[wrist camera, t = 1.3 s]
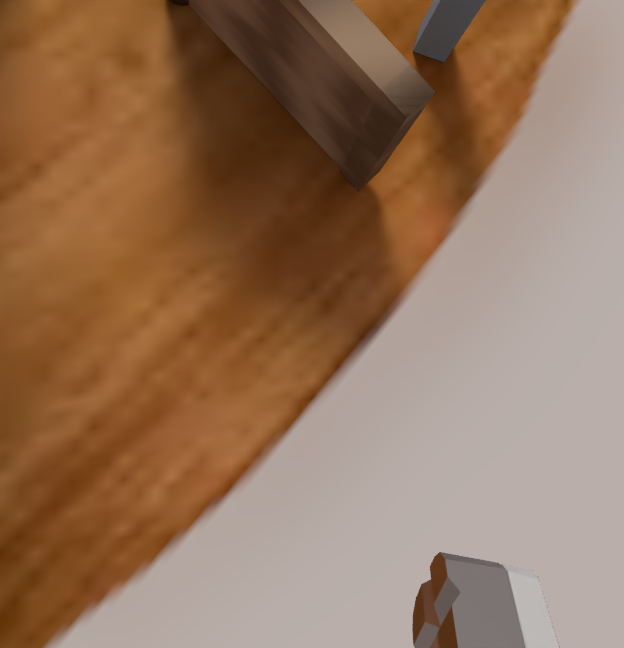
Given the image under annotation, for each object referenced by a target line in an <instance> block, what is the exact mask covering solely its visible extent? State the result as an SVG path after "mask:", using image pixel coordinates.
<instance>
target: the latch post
mask: <svg viewBox="0 0 624 648" xmlns="http://www.w3.org/2000/svg"><path fill="white" fill-rule="evenodd" d="M484 2H485V0H433V2H432V4H431V6H430V8H429V10H428V12H427V14H426V16H425V17H424V19H423V21H422V23H421V25H420V28H419V31H418V35H417V38H416V42H415V45H414V49H413V52H416V53H419V54H422V55H425V56H427V57H430V58H433V59H436V60H439V61H441V62H445V60H446V59H447V57H448V56H449V54H450V53H451V51H452V50H453V48H454V47H455V45H456V44H457V42H458V41H459V39H460V38H461V36H462V35H463V33H464V32H465V30H466V29H467V27H468V26H469V24H470V23H471V21H472V20H473V18H474V17H475V15H476V14H477V12H478V11H479V9H480V8H481V6H482V5H483V3H484Z"/></svg>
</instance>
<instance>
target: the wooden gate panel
mask: <svg viewBox="0 0 624 648" xmlns="http://www.w3.org/2000/svg"><path fill="white" fill-rule="evenodd" d="M188 1H189V6H190V7H191V8H192V9H193V10H194V11H195V12H196V13H197V14H198V15H199V17H200V18H201V19H202V20H203V21H204V22H205V23H206V24H207V25H208V26H209V27H210V28H211V29H212V31H213V32H214V33H215V34H216V35H217V36H218V37H219V38H220V39H221V40H222V41H223V42H224V43H225V44H226V46H227V47H228V48H229V49H230V50H231V51H232V52H233V53H234V54H235V55H236V56H237V57H238V58H239V60H240V61H241V62H242V63H243V64H244V65H245V66H246V67H247V68H248V69H249V70H250V71H251V72H252V74H253V75H254V76H255V77H256V78H257V79H258V80H259V81H260V82H261V83H262V84H263V85H264V86H265V88H266V89H267V90H268V91H269V92H270V93H271V94H272V95H273V96H274V97H275V98H276V99H277V100H278V102H279V103H280V104H281V105H282V106H283V107H284V108H285V109H286V110H287V111H288V112H289V113H290V114H291V116H292V117H293V118H294V119H295V120H296V121H297V122H298V123H299V124H300V125H301V126H302V127H303V128H304V129H305V131H306V132H307V133H308V134H309V135H310V136H311V137H312V138H313V139H314V140H315V141H316V142H317V143H318V145H319V146H320V147H321V148H322V149H323V150H324V151H325V152H326V153H327V154H328V155H329V156H330V157H331V159H332V160H333V161H334V162H335V163H336V164H337V165H338V166H339V167H340V168H341V170H340V172H341V174H342V175H343V176H344V177H345V178H346V179H347V180H348V181H349V182H350V183H351V184H352V185H353V186H354V187H355V189H356V190H357V191H359V190H360V189H361V188H362V187H363V186H364V185H365V184H367V183H368V182H369V181H370V180H371V179H372V178H373V177H374V176H375V175H376V174H377V173H379V171H380V170H381V169H382V167H383V166H384V164H385V163H386V161H387V160H388V159H389V157H390V156H391V154H392V153H393V151H394V150H395V149H396V147H397V146H398V144H399V143H400V142H401V140H402V139H403V137H404V136H405V134H406V133H407V132H408V130H409V129H410V127H411V126H412V124H413V123H414V122H415V120H416V119H417V117H418V116H419V115H420V113H421V112H422V110H423V109H424V107H425V106H426V105H427V103H428V102H429V100H430V99H431V97H432V96H433V95H434V93H435V91H434V89H433V88H432V87H431V86H430V85H429V84H428V83H427V82H426V81H425V80H424V79H423V77H422V76H421V75H420V74H419V73H418V72H417V71H416V70H415V69H414V68H413V67H412V65H411V64H410V63H409V62H408V61H407V60H406V59H405V58H404V57H403V56H402V55H401V54H400V52H399V51H398V50H397V49H396V48H395V47H394V46H393V45H392V44H391V43H390V42H389V40H388V39H387V38H386V37H385V36H384V35H383V34H382V33H381V32H380V31H379V30H378V29H377V27H376V26H375V25H374V24H373V23H372V22H371V21H370V20H369V19H368V18H367V17H366V15H365V14H364V13H363V12H362V11H361V10H360V9H359V8H358V7H357V6H356V5H355V4H354V2H353V1H352V0H188Z"/></svg>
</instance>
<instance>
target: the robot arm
mask: <svg viewBox="0 0 624 648" xmlns="http://www.w3.org/2000/svg"><path fill="white" fill-rule="evenodd" d="M430 571H431V580H429V581H427V582H425V583H423V584H422V585H421V587H420V590H419V592H418V595H417V597H416V601H415V607H414V612H413V644H414V647H415V648H560V647H559V643H558V640H557V637H556V634H555V630H554V627H553V624H552V621H551V617H550V614H549V611H548V608H547V604H546V601H545V598H544V594H543V591H542V588H541V584H540V581H539V578H538V576H537V575H536V574H535V572H534V571H533V570H528V569H524V568H518V567H513V566H508V565H503V564H499V563H495V562H490V561H485V560H479V559H474V558H469V557H463V556H458V555H452V554H447V553H441V552H440V553H438V554H437V555H436V556H435V557H434V559H433V562H432V563H431V566H430Z"/></svg>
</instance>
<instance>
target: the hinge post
mask: <svg viewBox="0 0 624 648" xmlns="http://www.w3.org/2000/svg"><path fill="white" fill-rule="evenodd" d="M170 1H171V2H172V3H174V4H176V5H181V6H185V5H189V1H188V0H170Z"/></svg>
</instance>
